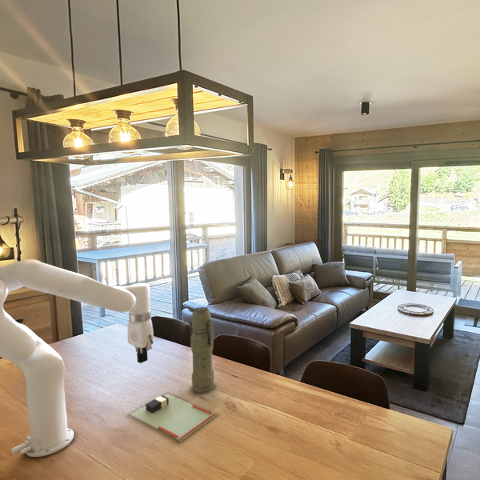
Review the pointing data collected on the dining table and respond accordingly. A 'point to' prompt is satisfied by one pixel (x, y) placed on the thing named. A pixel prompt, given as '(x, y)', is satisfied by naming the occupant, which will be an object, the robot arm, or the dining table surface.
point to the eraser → (157, 404)
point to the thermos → (202, 349)
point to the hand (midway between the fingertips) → (142, 361)
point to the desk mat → (176, 417)
